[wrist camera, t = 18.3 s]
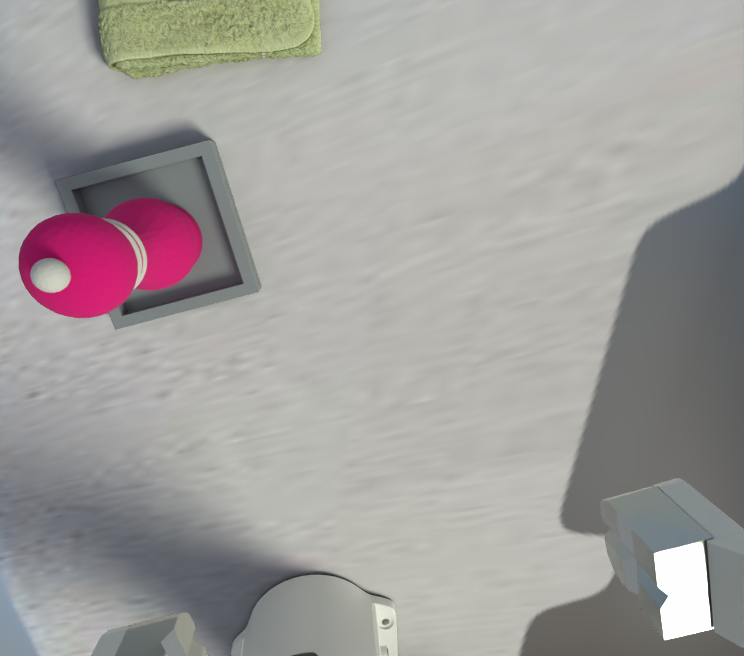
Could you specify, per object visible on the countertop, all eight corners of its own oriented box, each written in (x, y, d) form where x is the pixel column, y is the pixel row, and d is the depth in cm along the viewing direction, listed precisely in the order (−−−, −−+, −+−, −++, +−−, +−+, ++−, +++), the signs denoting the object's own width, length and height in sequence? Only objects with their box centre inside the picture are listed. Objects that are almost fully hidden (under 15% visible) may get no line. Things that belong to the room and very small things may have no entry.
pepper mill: (113, 262, 45) (-50, 318, 26) (136, 183, 43) (-20, 179, 24) (194, 292, 46) (95, 366, 27) (219, 216, 45) (134, 237, 25)
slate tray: (261, 287, 47) (258, 291, 45) (125, 323, 47) (115, 329, 45) (215, 142, 44) (209, 139, 42) (67, 181, 44) (54, 180, 42)
